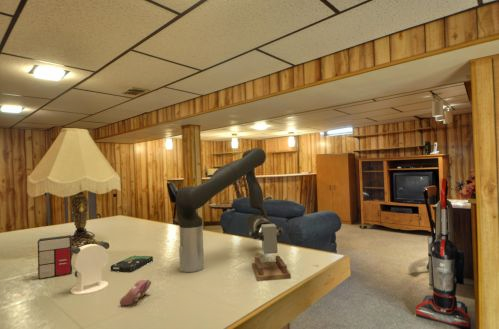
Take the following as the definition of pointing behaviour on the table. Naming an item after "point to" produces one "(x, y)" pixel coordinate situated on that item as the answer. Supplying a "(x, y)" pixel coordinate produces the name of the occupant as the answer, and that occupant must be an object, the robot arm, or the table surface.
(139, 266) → the disk drive
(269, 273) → the walnut stand
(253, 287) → the table surface
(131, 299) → the pink lumpy piece
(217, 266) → the table surface
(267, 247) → the block
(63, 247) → the grey and red box
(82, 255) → the white rounded upright piece
